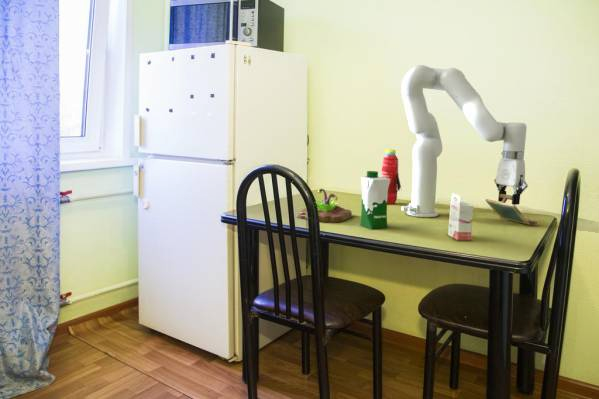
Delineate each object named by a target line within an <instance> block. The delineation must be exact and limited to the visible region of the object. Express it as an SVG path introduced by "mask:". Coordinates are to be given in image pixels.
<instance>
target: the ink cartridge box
mask: <svg viewBox="0 0 599 399" xmlns="http://www.w3.org/2000/svg"><path fill="white" fill-rule="evenodd" d="M455 198H456V199H455ZM461 199H462V196H461V195H458V194H456V193H453V192H452V193H451V196H450V203H449V217H448V230H447V231H448V233H447V234H448V236H450V237H451V238H452V239H454V240H456V241H472V234H473V232H472V230H473V217H474V205H472V204H470V203H467V202H465V201H462V200H461Z"/></svg>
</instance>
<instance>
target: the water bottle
mask: <svg viewBox="0 0 599 399" xmlns="http://www.w3.org/2000/svg"><path fill="white" fill-rule="evenodd" d="M399 175H400V173H399V158H398V157H397V155H396V149H392V148H388V149H386V150H385V154H384V156H383V157H382V160H381V177H385V178H388V179H390V183H389V187H388V195H387V205H394V204H396V203H397V200H398V192H399V191H400V190H401V189H402V185H401V181H400V177H399Z"/></svg>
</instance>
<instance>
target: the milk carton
mask: <svg viewBox="0 0 599 399" xmlns="http://www.w3.org/2000/svg"><path fill="white" fill-rule="evenodd" d="M360 181H361V212H360V226H362V227H364V228H367V229H370V230H377V229H385V228H388V204H387V195H388V187H389V183H390V179H388V178H385V177H382V176H379V172H378V171H376V170H367V171H366V176H361V177H360Z"/></svg>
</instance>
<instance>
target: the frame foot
mask: <svg viewBox="0 0 599 399" xmlns="http://www.w3.org/2000/svg"><path fill="white" fill-rule="evenodd" d="M525 218H526V219H527V220H528V221H529V223H530V224H529V225H528V224H524V223H520V222H516V221H512V220H508V219H504V218H501V219H503V220H507V221H509V222H510V221H511V222H515V223H519V224H522V225H527V226H531V227H537V226H538V221H539V220H535V219H531V218H527V217H525Z"/></svg>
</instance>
